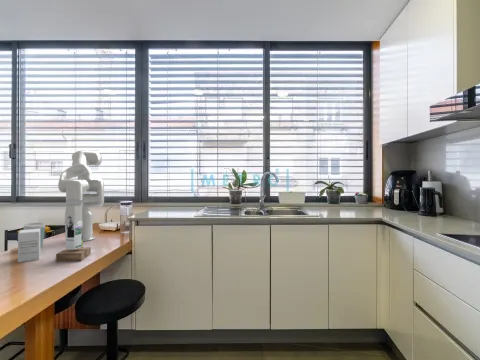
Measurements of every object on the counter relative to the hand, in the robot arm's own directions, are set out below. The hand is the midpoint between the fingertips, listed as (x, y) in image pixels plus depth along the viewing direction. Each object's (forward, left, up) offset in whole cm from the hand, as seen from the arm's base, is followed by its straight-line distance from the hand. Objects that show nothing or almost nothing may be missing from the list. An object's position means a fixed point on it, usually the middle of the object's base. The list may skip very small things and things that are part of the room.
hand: (74, 235), depth 144 cm
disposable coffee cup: (-21, -31, -12) cm, 39 cm away
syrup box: (0, 0, -7) cm, 7 cm away
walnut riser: (0, 0, -12) cm, 12 cm away
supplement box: (0, -22, -12) cm, 25 cm away
